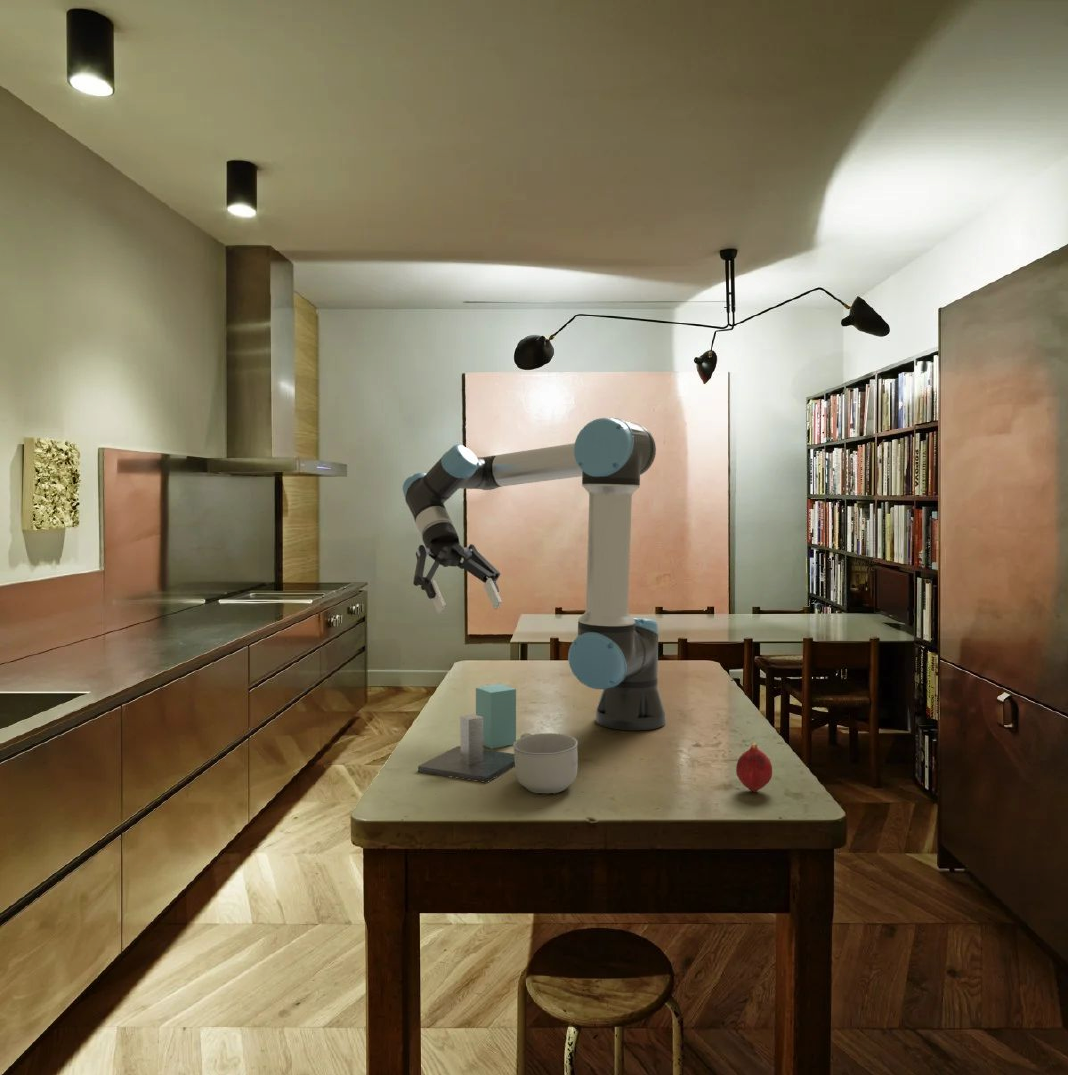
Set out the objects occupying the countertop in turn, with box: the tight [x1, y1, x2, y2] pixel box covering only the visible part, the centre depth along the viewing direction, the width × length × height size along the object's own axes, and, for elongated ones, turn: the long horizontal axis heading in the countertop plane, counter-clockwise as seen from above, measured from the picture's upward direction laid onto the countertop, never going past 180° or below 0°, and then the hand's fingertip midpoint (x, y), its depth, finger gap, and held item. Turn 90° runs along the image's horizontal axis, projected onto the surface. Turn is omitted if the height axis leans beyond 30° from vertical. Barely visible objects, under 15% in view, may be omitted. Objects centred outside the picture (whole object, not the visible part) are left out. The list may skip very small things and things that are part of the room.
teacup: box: [512, 732, 579, 794], centre depth 142 cm, size 14×11×8 cm
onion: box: [735, 742, 773, 793], centre depth 139 cm, size 6×6×8 cm
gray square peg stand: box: [417, 713, 515, 783], centre depth 153 cm, size 14×14×9 cm
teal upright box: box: [475, 683, 517, 750], centre depth 167 cm, size 6×6×11 cm
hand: (470, 607), depth 175 cm, fingers open, 13 cm apart
